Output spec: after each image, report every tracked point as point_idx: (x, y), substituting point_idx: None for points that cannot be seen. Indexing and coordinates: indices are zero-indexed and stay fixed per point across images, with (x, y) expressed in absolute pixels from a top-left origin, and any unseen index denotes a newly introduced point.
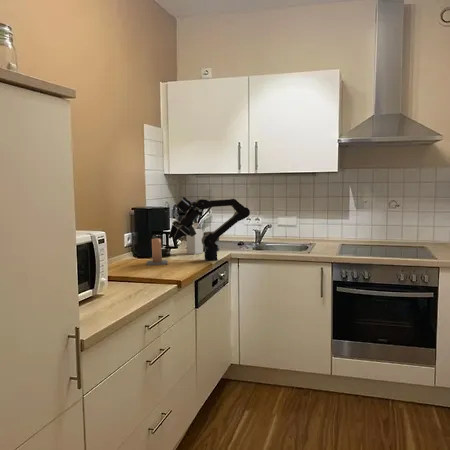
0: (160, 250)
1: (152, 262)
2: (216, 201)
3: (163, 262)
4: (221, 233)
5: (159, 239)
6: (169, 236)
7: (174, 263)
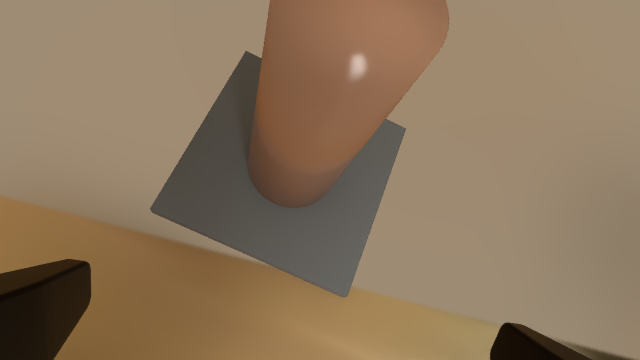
0: (263, 133)
1: None
2: None
3: (215, 195)
4: None
5: (277, 14)
6: (521, 343)
7: (170, 308)
